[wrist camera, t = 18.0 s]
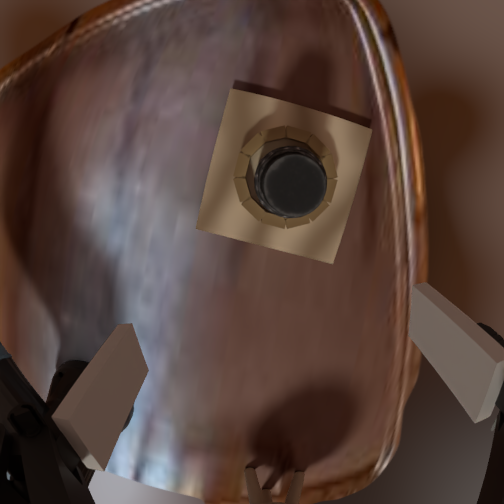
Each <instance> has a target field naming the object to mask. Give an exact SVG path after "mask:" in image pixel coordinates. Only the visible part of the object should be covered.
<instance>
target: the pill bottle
mask: <svg viewBox="0 0 504 504" xmlns="http://www.w3.org/2000/svg"><path fill="white" fill-rule="evenodd" d="M254 185H255V192H256V194H257V197H258V199H259V201H260V202H261V204H262V205H263V206H264V207H265V208H266V209H267V210H268V211H269V212H271V213H273V214H274V215H277V216H279V217H283V218H298V217H303V216H305V215H307V214H310V213H311V212H313V211H314V210H315V209H316V208H317V207H318V206H319V205H320V204H321V202H322V201H323V199H324V196H325V194H326V190H327V175H326V171H325V168H324V166H323V164H322V163H321V161H320V160H319V159H318V158H317V156H315V155H314V154H313V153H312V152H310V151H308V150H306V149H304V148H302V147H297V146H284V147H279V148H276V149H274V150H272V151H271V152H269V153H268V154H266V155H265V156H264V157H263V158H262V159H261V160H260V162H259V164H258V166H257V169H256V172H255V178H254Z"/></svg>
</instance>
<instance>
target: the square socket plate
mask: <svg viewBox="0 0 504 504" xmlns="http://www.w3.org/2000/svg"><path fill="white" fill-rule="evenodd" d="M371 133H372V129H369V128H367V127H364V126H361V125H359V124H356V123H353V122H350V121H347V120H344V119H342V118H339V117H336V116H333V115H330V114H326V113H323V112H320V111H317V110H314V109H310V108H307V107H304V106H300V105H297V104H293V103H290V102H286V101H282V100H279V99H275V98H271V97H267V96H263V95H259V94H254V93H250V92H246V91H241V90H236V89H230V93H229V96H228V100H227V103H226V107H225V111H224V114H223V118H222V122H221V125H220V129H219V133H218V137H217V141H216V145H215V149H214V152H213V156H212V160H211V165H210V169H209V173H208V177H207V181H206V185H205V190H204V194H203V198H202V203H201V207H200V211H199V216H198V220H197V225H196V229H198V230H202V231H206V232H210V233H214V234H218V235H222V236H226V237H230V238H234V239H238V240H242V241H246V242H249V243H253V244H257V245H261V246H265V247H269V248H273V249H277V250H281V251H284V252H288V253H292V254H296V255H300V256H304V257H308V258H311V259H315V260H319V261H323V262H327V263H331V264H333V262H334V259H335V256H336V253H337V250H338V247H339V244H340V241H341V238H342V235H343V231H344V228H345V225H346V222H347V219H348V216H349V212H350V209H351V206H352V202H353V199H354V196H355V192H356V189H357V185H358V182H359V178H360V175H361V171H362V168H363V164H364V160H365V156H366V153H367V149H368V145H369V141H370V137H371ZM284 146H297V147H302V148H304V149H306V150H308V151H310V152H312V153H313V154H314V155H315V156H317V158H318V159H319V160H320V161H321V163H322V164H323V166H324V168H325V171H326V175H327V190H326V194H325V196H324V199H323V201H322V202H321V204H320V205H319V206H318V207H317V208H316V209H315V210H314V211H313V212H311V213H310V214H307V215H305V216H303V217H298V218H283V217H279V216H277V215H274V214H273V213H271V212H269V211H268V210H267V209H266V208H265V207H264V206H263V205H262V204H261V202H260V201H259V199H258V197H257V194H256V192H255V185H254V178H255V172H256V169H257V166H258V164H259V162H260V160H261V159H262V158H263V157H264V156H265V155H266V154H268V153H269V152H271V151H272V150H274V149H276V148H279V147H284Z"/></svg>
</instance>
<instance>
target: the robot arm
mask: <svg viewBox="0 0 504 504" xmlns="http://www.w3.org/2000/svg"><path fill="white" fill-rule="evenodd" d="M409 337H410V338H411V339H412V340H413V342H414V343H415V344H416V345H417V347H418V348H419V349H420V350H421V352H422V353H423V354H424V356H425V357H426V358H427V359H428V361H429V362H430V363H431V365H433V367H434V368H435V370H436V371H437V372H438V374H439V375H440V376H441V377H442V379H443V380H444V381H445V383H446V384H447V386H448V387H449V388H450V390H451V391H452V392H453V394H454V395H455V397H456V398H457V399H458V401H459V402H460V403H461V405H462V406H463V407H464V409H465V410H466V412H467V413H468V415H469V416H470V417H471V419H472V420H473V422H474V423H477V422H479V421H481V420H483V419H485V418H487V417H489V416H490V415H491V413H492V411H493V408H494V406H495V404H496V406H497V407H498V408H499V409H500V411H499V413H498V415H497V418H496V420H495V422H494V424H493V426H492V428H491V431H493V430H494V428H495V433H494V438H493V444H492V448H491V453H490V458H489V462H488V466H487V470H486V474H485V478H484V481H483V485H482V488H481V492H480V495H479V498H478V501H477V504H504V340H503V338H502V337H501V336H500V335H498V334H497V332H495V331H494V330H493V329H492V328H491V327H489V326H487V325H484V324H482V323H477V324H476V323H475V322H474V321H473V320H471V319H470V318H469V317H468V316H467V315H466V314H464V313H463V312H462V311H461V310H460V309H458V308H457V307H456V306H455V305H453V304H452V303H451V302H450V301H449V300H447V299H446V298H445V297H444V296H442V295H441V294H440V293H438V292H437V291H436V290H435V289H434V288H432V287H431V286H430V285H429V284H427V283H426V282H425V283H420V284H416V285H412V301H411V315H410V327H409ZM11 357H12V356H11V354H9V353H8V352H7V351H6V349H5V348H4V347H3V345H2V344H1V342H0V504H95V502H94V500H93V498H92V496H91V493H90V491H89V489H88V486H89V483H90V481H91V479H92V477H93V474H94V472H95V470H99V471H105V468H106V466H107V464H108V461H109V459H110V457H111V454H112V452H113V449H114V447H115V445H116V442H117V440H118V438H119V435H120V433H121V432H122V431H123V430H124V429H125V428H126V427H127V426H128V424H129V422H130V420H131V418H132V416H133V404H134V402H135V399H136V397H137V395H138V393H139V390H140V388H141V386H142V384H143V382H144V380H145V377H146V375H147V373H148V371H149V370H148V367H147V364H146V362H145V359H144V356H143V354H142V351H141V348H140V345H139V342H138V339H137V337H136V334H135V331H134V328H133V325H132V323H131V324H118V325H117V327H116V328H115V329H114V331H113V332H112V333H111V335H110V336H109V337H108V339H107V340H106V341H105V343H104V344H103V345H102V347H101V348H100V349H99V351H98V352H97V353H96V355H95V356H94V357H93V359H92V360H91V361H90V363H87V362H84V361H78V360H72V361H67V362H65V363H63V364H62V365H61V366H60V367H59V369H58V370H57V371H56V372H55V374H54V376H53V378H52V382H51V385H50V389H49V393H48V397H47V400H46V402H44V401H43V399H42V398H41V397H40V396H39V394H38V393H37V392H36V391H35V389H34V388H33V387H32V386H31V384H30V383H29V382H28V380H27V379H26V378H25V376H24V375H23V374H22V372H21V371H20V369H19V368H18V367H17V365H16V364H15V362H14V361H13V359H12V358H11ZM495 426H496V427H495Z"/></svg>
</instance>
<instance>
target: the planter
mask: <svg viewBox="0 0 504 504" xmlns="http://www.w3.org/2000/svg"><path fill="white" fill-rule="evenodd" d="M244 473H245V480H246V485H247V490H248V496H249V502H250V504H299V499H300V494H301V490H302V486H303V481H304V475H305V474H304V473H303V472H301V471H299V472H296V473H295V474H294V476H293V479H292V482H291V485H290V488H289V491H288V494H287V497H286V500H285V503H282V502H272V496H271V491H270V490H269V489H263V490H261V488H260V485H259V482H258V478H257V475H256V471H255V469H253V468H246V469H245V471H244Z"/></svg>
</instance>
